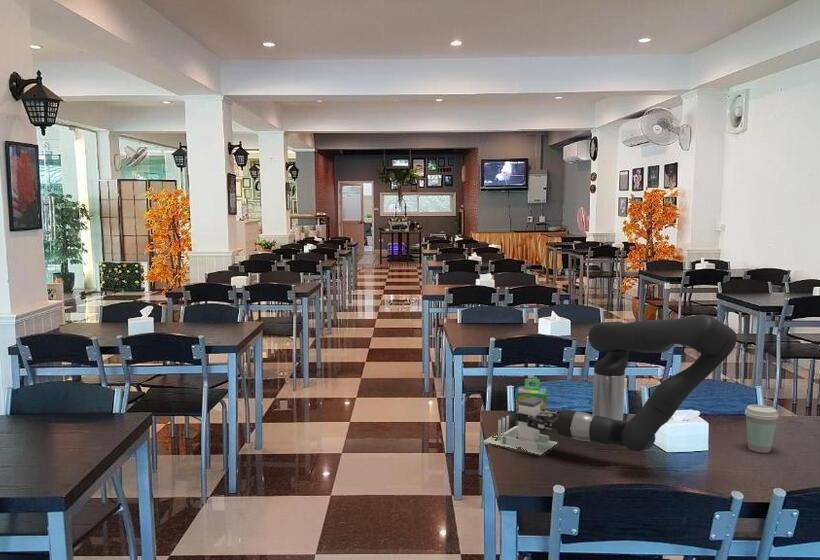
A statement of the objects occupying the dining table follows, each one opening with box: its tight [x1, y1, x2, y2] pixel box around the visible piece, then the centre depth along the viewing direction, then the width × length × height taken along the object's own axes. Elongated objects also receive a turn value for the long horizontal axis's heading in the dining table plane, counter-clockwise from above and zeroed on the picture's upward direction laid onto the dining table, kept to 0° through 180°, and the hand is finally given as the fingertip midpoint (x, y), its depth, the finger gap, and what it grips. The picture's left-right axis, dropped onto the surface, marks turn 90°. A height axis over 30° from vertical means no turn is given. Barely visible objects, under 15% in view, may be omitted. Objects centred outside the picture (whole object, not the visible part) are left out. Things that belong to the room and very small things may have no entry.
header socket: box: [482, 415, 559, 455], centre depth 193 cm, size 12×18×7 cm, turn 55°
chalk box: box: [515, 378, 548, 426], centre depth 210 cm, size 9×9×15 cm
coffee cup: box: [744, 404, 779, 454], centre depth 190 cm, size 9×8×12 cm
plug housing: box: [518, 398, 541, 442], centre depth 191 cm, size 4×4×11 cm
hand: (520, 414), depth 192 cm, fingers closed on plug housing, 4 cm apart
